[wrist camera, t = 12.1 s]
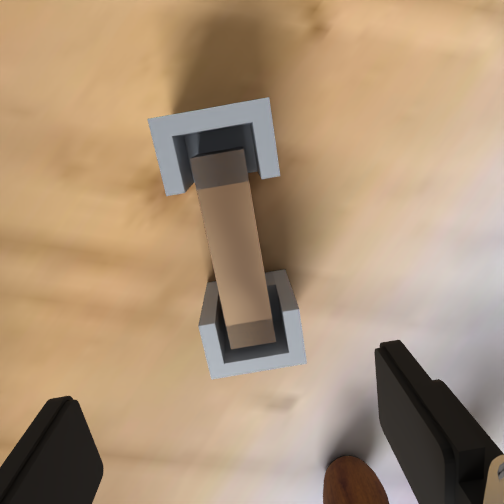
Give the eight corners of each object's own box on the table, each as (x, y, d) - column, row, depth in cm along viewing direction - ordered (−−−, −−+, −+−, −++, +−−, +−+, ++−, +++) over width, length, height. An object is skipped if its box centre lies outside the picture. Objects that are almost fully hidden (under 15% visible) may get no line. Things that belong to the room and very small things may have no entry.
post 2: (217, 326, 35) (211, 379, 28) (207, 282, 34) (198, 326, 26) (291, 313, 35) (306, 363, 27) (285, 269, 34) (299, 309, 26)
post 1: (260, 106, 29) (269, 97, 21) (269, 165, 31) (280, 175, 23) (170, 122, 29) (147, 118, 22) (184, 180, 31) (166, 196, 23)
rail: (232, 316, 32) (231, 349, 27) (198, 154, 27) (189, 158, 22) (270, 310, 32) (276, 341, 27) (242, 146, 27) (243, 148, 22)
